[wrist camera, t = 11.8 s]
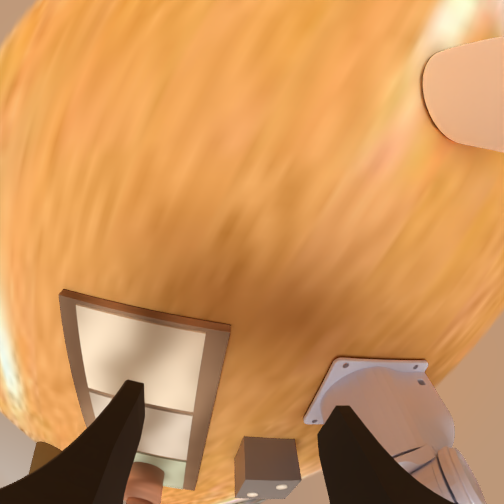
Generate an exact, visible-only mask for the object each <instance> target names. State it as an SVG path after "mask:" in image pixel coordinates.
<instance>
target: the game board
mask: <svg viewBox="0 0 504 504" xmlns="http://www.w3.org/2000/svg"><path fill="white" fill-rule="evenodd" d="M59 302H60V310H61V318H62V325H63V331H64V337H65V343H66V348H67V353H68V358H69V363H70V368H71V372H72V377H73V381H74V385H75V389H76V393H77V396H78V400H79V404H80V407H81V411H82V414H83V418H84V421H85V424H86V427H87V428H88V427H89V426H90V425H91V424H92V422H93V421H94V420H95V419H96V418H97V417H98V416H99V414H100V413H101V412H102V411H103V410H104V409H105V407H106V406H107V405H108V404H109V402H110V401H111V400H112V399H113V397H114V396H115V395H116V393H117V392H118V391H119V389H120V388H121V386H122V385H123V383H124V382H125V381H126V380H132V381H137V382H141V383H144V398H145V419H144V424H143V430H142V435H141V439H140V443H139V446H138V449H137V452H136V455H135V459H134V462H144V463H148V464H152V465H154V466H157V467H158V468H160V469H162V470H163V471H164V473H165V475H164V481H163V486H166V487H172V488H178V489H188V490H195V487H196V482H197V478H198V473H199V469H200V464H201V460H202V455H203V451H204V446H205V442H206V437H207V433H208V428H209V424H210V419H211V415H212V411H213V406H214V402H215V397H216V393H217V388H218V384H219V379H220V375H221V371H222V366H223V362H224V357H225V353H226V348H227V344H228V340H229V335H230V325H227V324H221V323H215V322H209V321H204V320H198V319H193V318H187V317H182V316H177V315H172V314H167V313H162V312H157V311H152V310H147V309H143V308H138V307H134V306H129V305H125V304H121V303H116V302H112V301H108V300H104V299H100V298H96V297H92V296H88V295H84V294H80V293H76V292H72V291H69V290H65V289H63V290H62V292H61V293H60V294H59Z"/></svg>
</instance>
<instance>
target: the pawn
mask: <svg viewBox="0 0 504 504" xmlns="http://www.w3.org/2000/svg"><path fill="white" fill-rule="evenodd" d="M164 475H165V473H164V471H163V470H162V469H160V468H158V467H157V466H154V465H152V464H148V463H144V462H133V465H132V468H131V471H130V475H129V478H128V481H127V485H126V489H125V493H124V500H125V501H126V504H160V503H161V496H162V488H163V481H164Z"/></svg>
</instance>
